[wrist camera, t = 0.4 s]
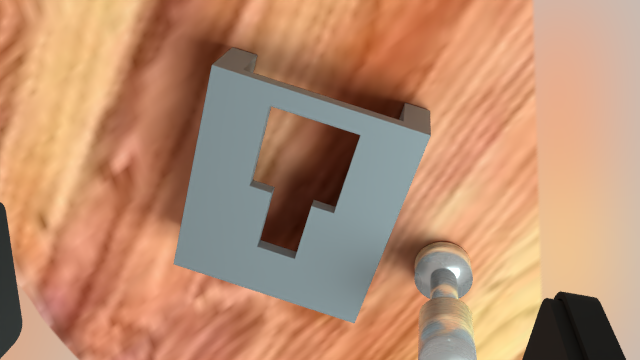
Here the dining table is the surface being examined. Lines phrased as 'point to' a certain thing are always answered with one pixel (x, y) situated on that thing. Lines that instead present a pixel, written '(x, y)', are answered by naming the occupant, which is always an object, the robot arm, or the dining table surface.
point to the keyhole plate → (254, 197)
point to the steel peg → (444, 303)
